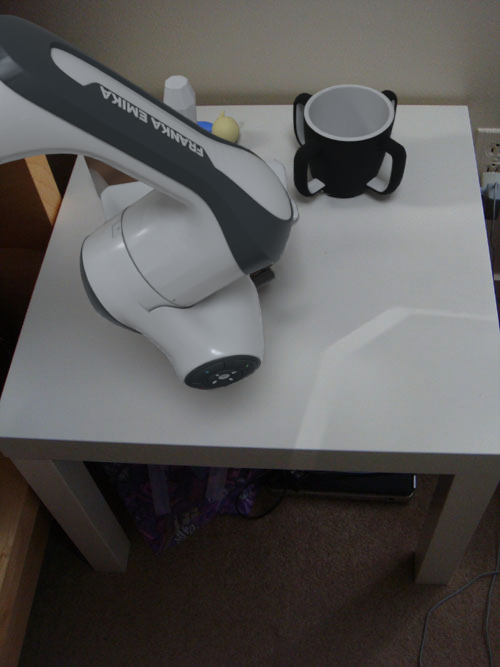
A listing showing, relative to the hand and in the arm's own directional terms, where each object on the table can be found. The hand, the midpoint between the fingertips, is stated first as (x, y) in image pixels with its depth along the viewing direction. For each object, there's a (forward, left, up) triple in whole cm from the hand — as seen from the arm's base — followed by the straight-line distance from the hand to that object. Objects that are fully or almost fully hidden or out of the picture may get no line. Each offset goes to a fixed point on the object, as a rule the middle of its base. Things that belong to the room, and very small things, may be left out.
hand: (189, 155), depth 69 cm
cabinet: (0, +13, -18) cm, 22 cm away
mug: (+25, +1, -18) cm, 30 cm away
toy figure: (+12, +21, -18) cm, 30 cm away
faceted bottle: (0, -1, -12) cm, 12 cm away
